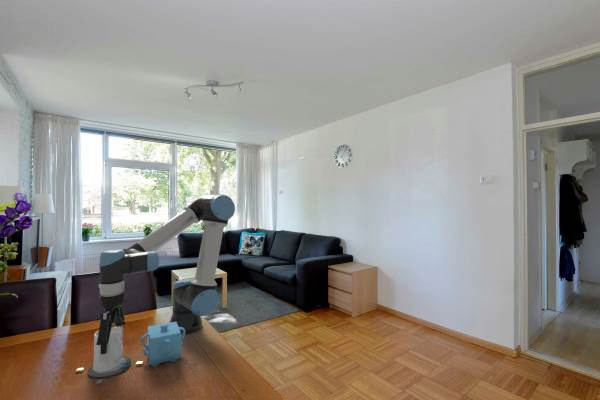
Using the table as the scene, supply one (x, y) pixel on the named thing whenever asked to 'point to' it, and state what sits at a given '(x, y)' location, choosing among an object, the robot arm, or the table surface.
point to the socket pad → (109, 373)
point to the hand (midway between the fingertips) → (112, 352)
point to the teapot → (163, 343)
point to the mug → (114, 351)
